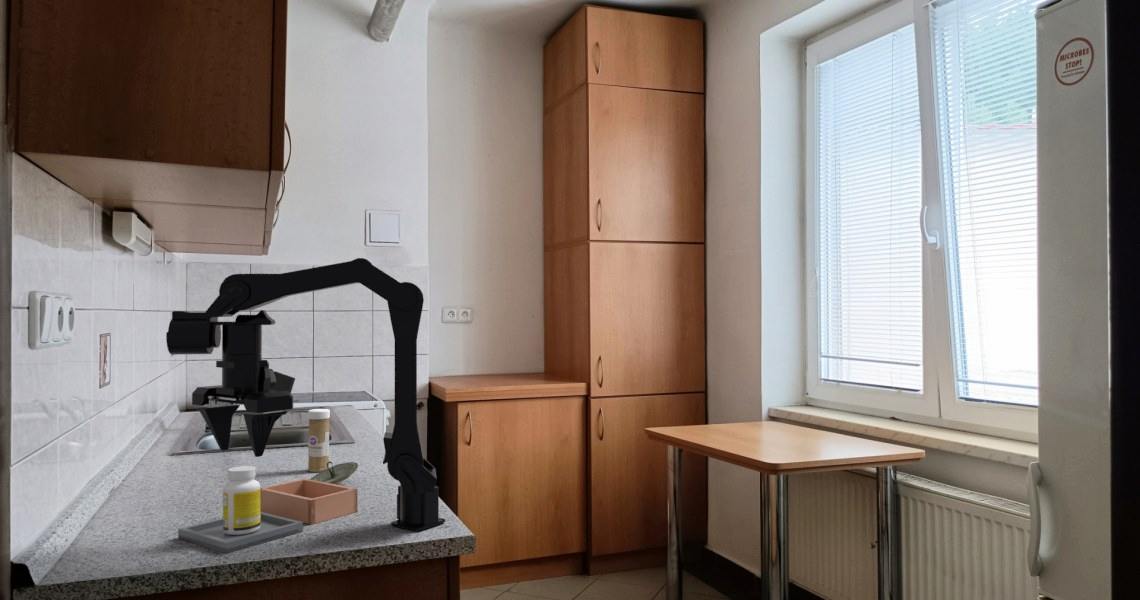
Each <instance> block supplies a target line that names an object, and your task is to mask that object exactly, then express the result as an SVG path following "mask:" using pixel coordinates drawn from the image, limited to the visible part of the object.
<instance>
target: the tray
mask: <svg viewBox="0 0 1140 600" xmlns="http://www.w3.org/2000/svg"><path fill="white" fill-rule="evenodd" d="M260 519H261V521H260V522H261V524H260V528H259V529H258V530H257V531H255V532H252V533H249V534H243V535H228V534H225V533H224V532H223V517H221V518H218V519H213V520H208V521H205V522H201V523H196V524H192V525H188V526H185V527H179V528H178V530H177V531H178V532H177V533H178V535H177V536H178V537H177V539H179V540H182V541H185V542H189V543H191V544H194V545H198V546H201V547H205V548H208V549H210V550H214V551H218V552H221V553H224V554H229V553H232V552H235V551H239V550H240V551H241V550H242V549H243V550H244V549H247V548H251V547H253V546H257V545H261V544H264V543H268V542H271V541H274V540H278V539H281V538H285V537H289V536H293V535H295V534H298V533H299V534H300V533H303V532H304V523H303V522H300V521H296V520H292V519H288V518H284V517H280V516H276V515H272V514H268V513H264V512H260Z"/></svg>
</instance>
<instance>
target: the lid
mask: <svg viewBox="0 0 1140 600" xmlns="http://www.w3.org/2000/svg"><path fill="white" fill-rule="evenodd" d="M330 464H331V466H330ZM327 468H328V469H326V470H324V471H322V472H317V474H315V475H314V476H313V477H311V478H310V480H315V481H320V482H325V483H330V484H336V485H338V484H339V483H341V482H343V481H345V480H347V479H349V477H350V476H351V475H353V474H355V472H356V471H357V470H358V468H359V463H358V462H354V461H350V462H344V463H338V464H333V462H332V461H330V460H329V461H328V463H327Z"/></svg>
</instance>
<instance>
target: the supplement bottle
mask: <svg viewBox="0 0 1140 600" xmlns="http://www.w3.org/2000/svg"><path fill="white" fill-rule="evenodd" d="M255 477H256V466H251V465H242V466H234V467H230V468H229V469H227V479H228V480H229V482H227V483H225V484H224V485H223V488H222V518H223V532H224V533H225V534H228V535H243V534H249V533H252V532H255V531H257V530H258V529H259V528H260V524H261V522H260V521H261V519H260V488H261V484H260V482H259V481H257V480H256V479H255Z"/></svg>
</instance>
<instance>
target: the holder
mask: <svg viewBox="0 0 1140 600" xmlns="http://www.w3.org/2000/svg"><path fill="white" fill-rule="evenodd" d="M310 479H311V478H310ZM310 479H309V478H301V479H298V480H297V479H296V480H292V481H288V482H283V483H279V484H274V485H270V486H266V487H265V486H264V487H260V512H264V513H268V514H272V515H276V516H280V517H284V518H288V519H292V520H296V521H300V522H303V524H307V525H315V524H318V523H322V522H325V521H330V520H333V519H337V518H339V517H343V516H347V515H350V514H354V513H357V512H358V488H357V487H356V488H355V487H351V486H350V487H349V486H345V485H340V484H330V483H325V482H320V481H315V480H310Z"/></svg>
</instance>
